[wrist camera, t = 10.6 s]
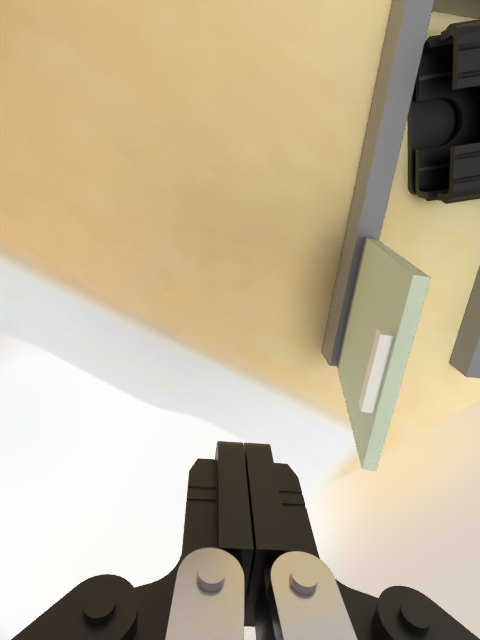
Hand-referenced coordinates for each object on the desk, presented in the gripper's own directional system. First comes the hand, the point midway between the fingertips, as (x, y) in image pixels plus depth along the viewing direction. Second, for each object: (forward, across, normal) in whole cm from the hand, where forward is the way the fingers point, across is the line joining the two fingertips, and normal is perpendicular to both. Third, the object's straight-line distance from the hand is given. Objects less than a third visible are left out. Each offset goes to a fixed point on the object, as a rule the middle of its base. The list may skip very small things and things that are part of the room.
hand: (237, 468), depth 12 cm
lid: (+12, -9, 0) cm, 15 cm away
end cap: (+21, -15, -13) cm, 29 cm away
